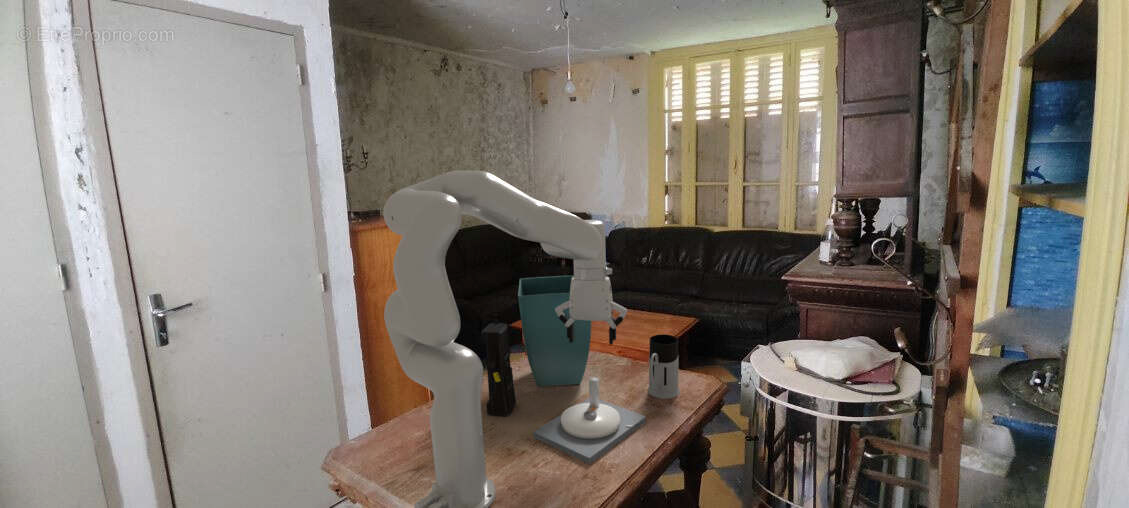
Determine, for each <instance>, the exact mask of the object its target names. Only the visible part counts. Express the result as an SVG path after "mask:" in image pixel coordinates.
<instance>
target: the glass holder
mask: <svg viewBox="0 0 1129 508" xmlns="http://www.w3.org/2000/svg"><path fill="white" fill-rule="evenodd" d="M647 393H648V394H649V395H650V396H652V397H654V398H658V399H662V400H665V399H669V400H670V399H674V398H676V397H678V396H679V395H680V393H681V390H680V388H679V339H678V337H676V336H674V335H671V334H663V333H662V334H655V335H651V336H650V337H649V354H648V388H647Z"/></svg>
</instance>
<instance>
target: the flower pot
mask: <svg viewBox="0 0 1129 508" xmlns="http://www.w3.org/2000/svg"><path fill="white" fill-rule="evenodd" d="M572 277H574V274H573V275H556V276H555V275H554V276H536V277H526V278H525V277H523V278H519V282H518V283H519V285H518V292H517V293H518V294H517V297H518V305H519V314H520V321H521V329H522V338H523V344H524V348H525V353H526V356H527V361H528V364H529V367H530V371H531V374H532V375H533V379H534V382H535V383H536V386H537V387H551V386H552V387H553V386H554V387H555V386H567V385H579V384H582V382H583V379H584V375H585V372H586V368H587V366H588V365H587V364H588V359H589V355H590V347H591V338H592V337H591V336H592V321H586V320H575V321H574V322H573V323H574V333H575V339H574V341H573V342H572V343H570V342H569V338H567V327H566V326H565V324H564V323H563V322H562V321H561V320H560V319H559V316H558V315H557V313H556V311H555V308H556V307H557V306H559V305H561V304H563V303H565V302H567V301H569V297H570V286H571V280H572ZM563 313H564V314H565V315H566V316H567V317H568V318H569V317H570V315H569V307H568V308H566V309H564V310H563Z"/></svg>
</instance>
